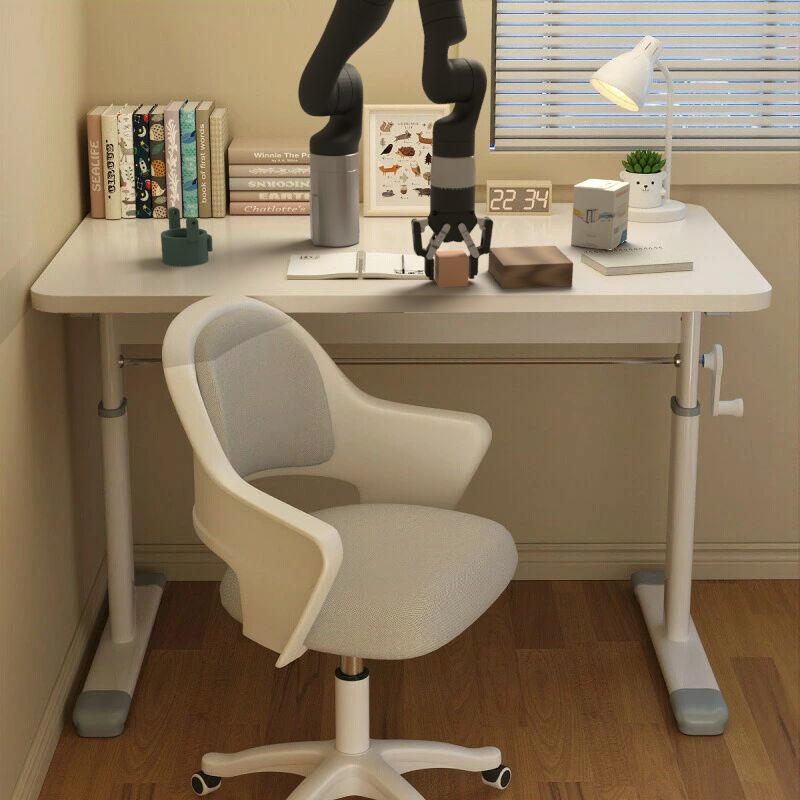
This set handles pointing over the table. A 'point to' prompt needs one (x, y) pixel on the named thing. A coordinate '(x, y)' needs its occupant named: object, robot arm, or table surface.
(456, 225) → the robot arm
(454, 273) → the terracotta cube
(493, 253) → the walnut base
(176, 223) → the bracket
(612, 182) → the ink box
